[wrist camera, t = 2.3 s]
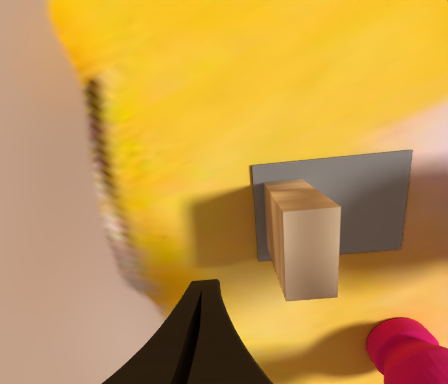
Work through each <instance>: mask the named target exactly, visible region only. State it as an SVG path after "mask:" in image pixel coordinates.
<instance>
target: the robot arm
mask: <svg viewBox="0 0 448 384" xmlns="http://www.w3.org/2000/svg"><path fill="white" fill-rule="evenodd" d="M102 384H273V383H272V382H271V381H270V380H269V378H268V377H267V376H266V375H265V373H264V372H263V371H262V370H261V368H260V367H259V366H258V364H257V363H256V361H255V360H254V359H253V357H252V356H251V354H250V353H249V352H248V350H247V349H246V347H245V345H244V344H243V342H242V341H241V339H240V337H239V335H238V334H237V332H236V330H235V328H234V326H233V324H232V322H231V320H230V318H229V315H228V313H227V311H226V308H225V305H224V303H223V300H222V296H221V290H220V282H219V280H217V279H213V280H201V281H192V282H191V283H190V285H189V287H188V288H187V290H186V291H185V293H184V295H183V296H182V298H181V299H180V301H179V302H178V304H177V305H176V307H175V308H174V309H173V311H172V312H171V314H170V315H169V316H168V318H167V319H166V320H165V322H164V323H163V324H162V325H161V327H160V328H159V329H158V330H157V332H156V333H155V334H154V335H153V336H152V337H151V338H150V340H149V341H148V342H147V343H146V344H145V345H144V346H143V347H142V348H141V349H140V350H139V351H138V352H137V353H136V354H135V355H134V356H133V357H132V358H131V359H130V360H129V361H128V362H127V363H126V364H125V365H123V366H122V367H121V368H120V369H119V370H118V371H116V372H115V373H114V374H113V375H112V376H111V377H109V378H108V379H107V380H106V381H104V382H103V383H102Z"/></svg>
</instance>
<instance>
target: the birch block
mask: <svg viewBox="0 0 448 384" xmlns="http://www.w3.org/2000/svg"><path fill="white" fill-rule="evenodd" d="M264 198H265V216H266V234H267V247H268V250H269V253H270V256H271V259H272V262H273V265H274V268H275V271H276V274H277V276H278V279H279V282H280V285H281V288H282V291H283V294H284V297H285V300H286V301H297V300H309V299H322V298H335V297H338V271H339V244H340V217H341V207H340V206H339V205H338V204H336V203H335V202H333V201H332V200H331V199H329V198H328V197H326V196H325V195H324V194H322V193H321V192H320V191H318V190H317V189H315V188H314V187H313V186H311V185H310V184H308V183H307V182H306V181H304V180H303V179H295V180H284V181H274V182H264Z"/></svg>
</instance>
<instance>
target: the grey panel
mask: <svg viewBox="0 0 448 384" xmlns="http://www.w3.org/2000/svg"><path fill="white" fill-rule="evenodd" d="M412 152H413V150H403V151H393V152H382V153H372V154H362V155H352V156H341V157H331V158H321V159H311V160H300V161H290V162H280V163H269V164H259V165H252V175H253V190H254V204H255V219H256V234H257V249H258V261H268V260H272V259H271V256H270V253H269V250H268V247H267V234H266V216H265V198H264V182H274V181H284V180H295V179H303V180H304V181H306V182H307V183H308V184H310V185H311V186H313V187H314V188H315V189H317V190H318V191H320V192H321V193H322V194H324V195H325V196H326V197H328V198H329V199H331V200H332V201H333V202H335V203H336V204H338V205H339V206H340V207H341V217H340V244H339V254H351V253H363V252H375V251H386V250H398V249H401V246H402V238H403V229H404V221H405V212H406V204H407V195H408V186H409V178H410V169H411V161H412Z"/></svg>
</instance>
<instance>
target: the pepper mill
mask: <svg viewBox="0 0 448 384" xmlns="http://www.w3.org/2000/svg"><path fill="white" fill-rule="evenodd" d="M366 349H367V353H368V355H369V357H370V358H371V360H372V361H373V363H374V365H375V366H376V368H377V369H378V371H379V372H380V373H381V374H383V375H384V384H448V349H447V348H445V347H442V346H439V343H438V341H437V340H436V338H435V337H434V336H433V335H432V334H431V333H430V332H429V331H428V330H427V329H426V328H425V327H424V326H423V325H422V324H420V323H419V322H417V321H415V320H413V319H408V318H395V319H391V320H388V321H385V322H383V323H381V324H380V325H378V326H377V327H376V328H375V329H373V331H372V332H371V333H370V335H369V336H368V339H367V342H366Z"/></svg>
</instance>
